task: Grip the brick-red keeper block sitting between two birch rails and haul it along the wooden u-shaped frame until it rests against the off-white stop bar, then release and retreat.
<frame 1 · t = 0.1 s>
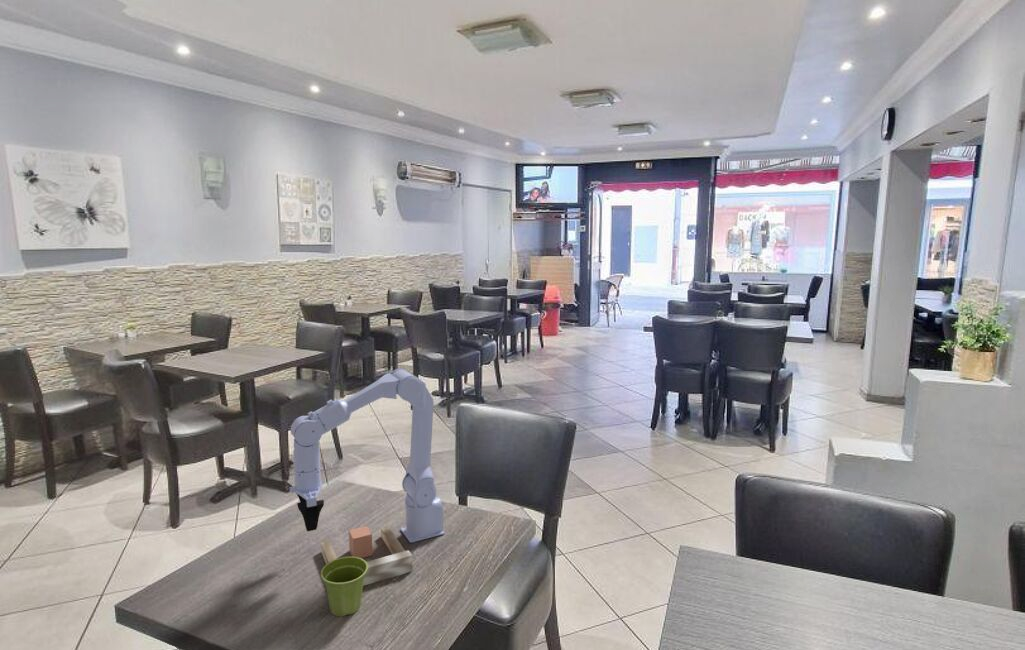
hand: (310, 522, 128), 10 cm above the table, tool pointing down, fingers open, 7 cm apart
keeper block: (360, 553, 133), on the table
plant pot: (345, 608, 113), on the table
wooden u-shaped frame: (364, 558, 131), on the table
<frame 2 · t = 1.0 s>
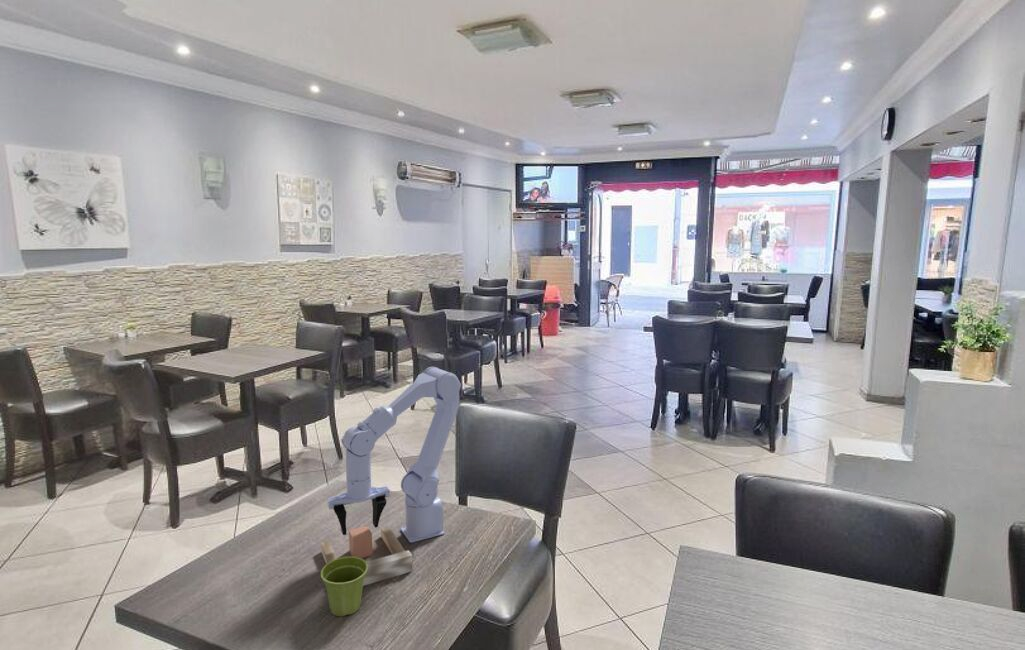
hand: (359, 529, 133), 6 cm above the table, tool pointing down, fingers open, 7 cm apart
nothing on the table moved.
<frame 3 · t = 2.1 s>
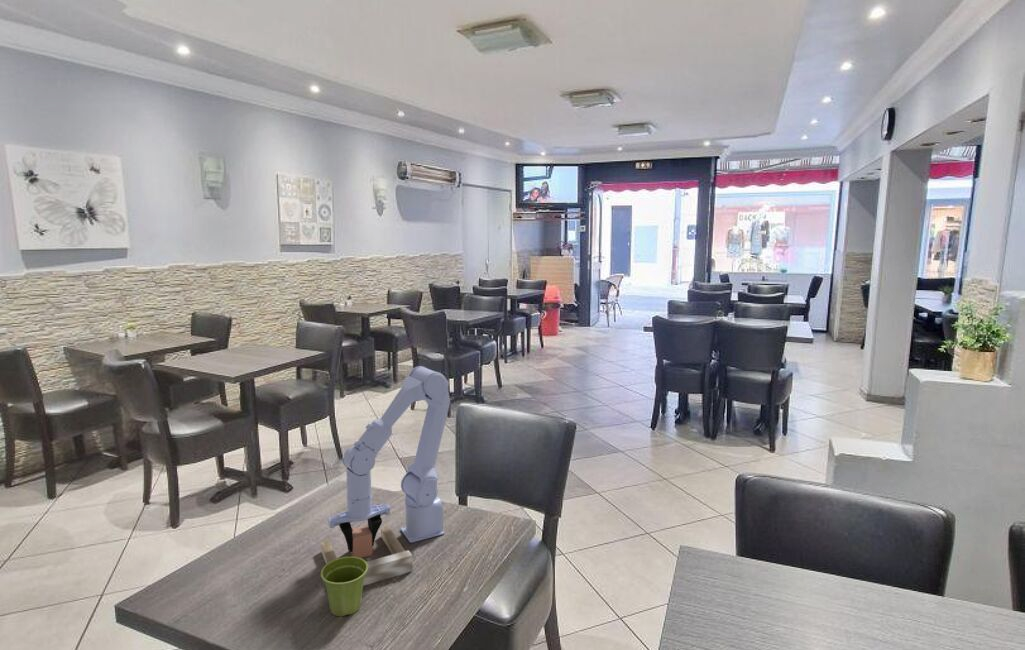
hand: (360, 547, 133), 1 cm above the table, tool pointing down, fingers closed on keeper block, 4 cm apart
keeper block: (360, 552, 133), on the table, touching gripper
everything else where it was.
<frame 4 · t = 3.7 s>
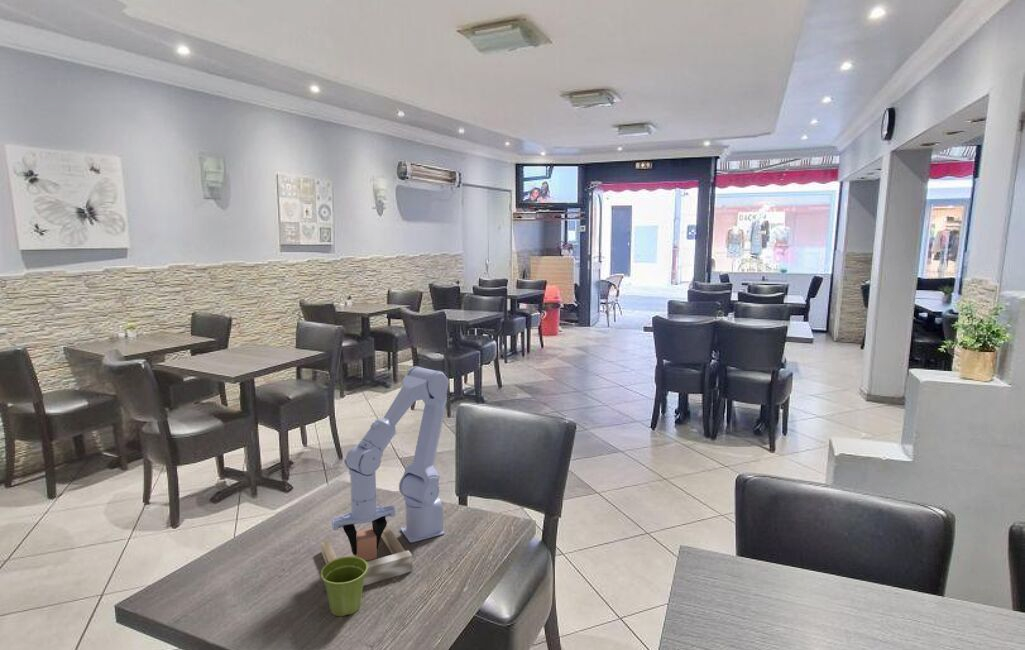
hand: (365, 550, 129), 3 cm above the table, tool pointing down, fingers closed on keeper block, 4 cm apart
keeper block: (365, 555, 130), point 1 cm above the table, touching gripper
everything else where it was.
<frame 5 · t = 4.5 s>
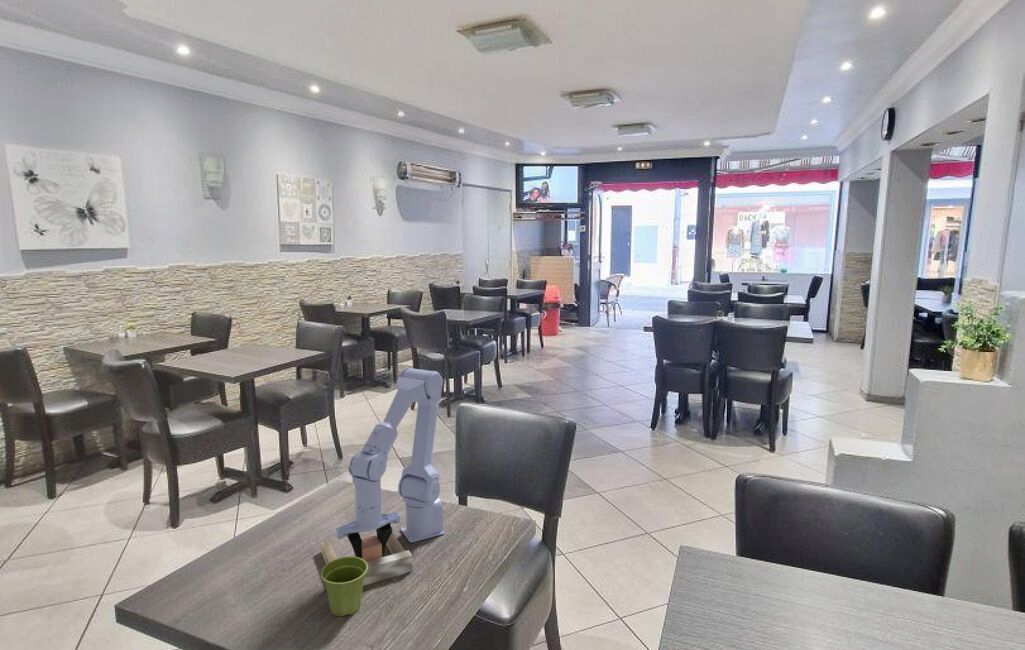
hand: (369, 558, 126), 3 cm above the table, tool pointing down, fingers closed on keeper block, 4 cm apart
keeper block: (369, 564, 126), point 1 cm above the table, touching gripper
everything else where it was.
when the fingers open (2 cm above the table, at t = 5.3 s): keeper block stays where it is, on the table.
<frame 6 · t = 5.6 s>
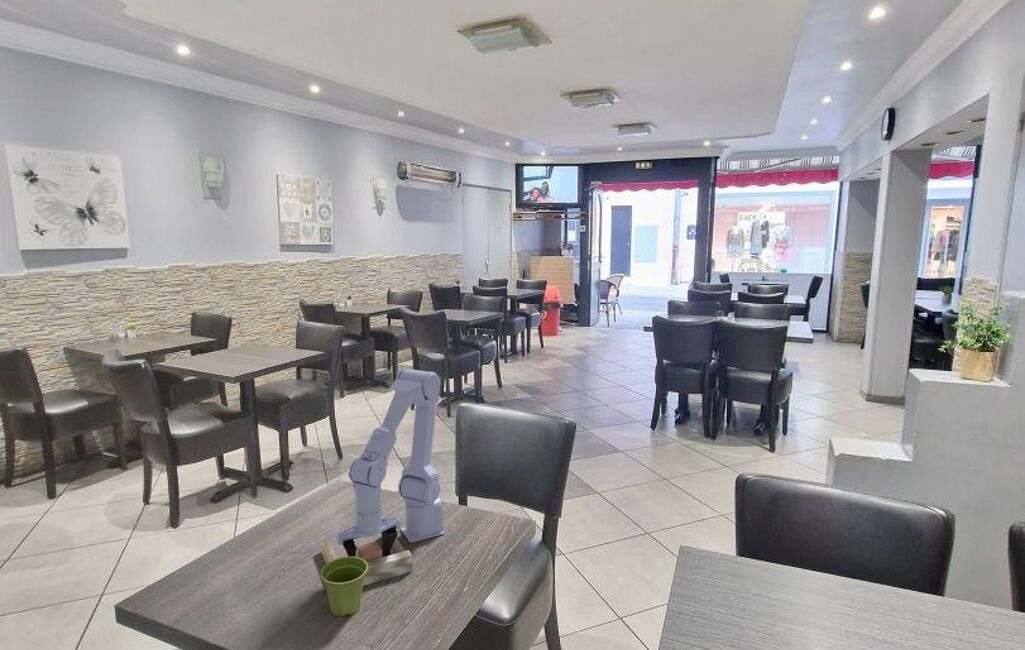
hand: (369, 563, 126), 2 cm above the table, tool pointing down, fingers open, 7 cm apart
keeper block: (369, 570, 126), on the table
everything else where it was.
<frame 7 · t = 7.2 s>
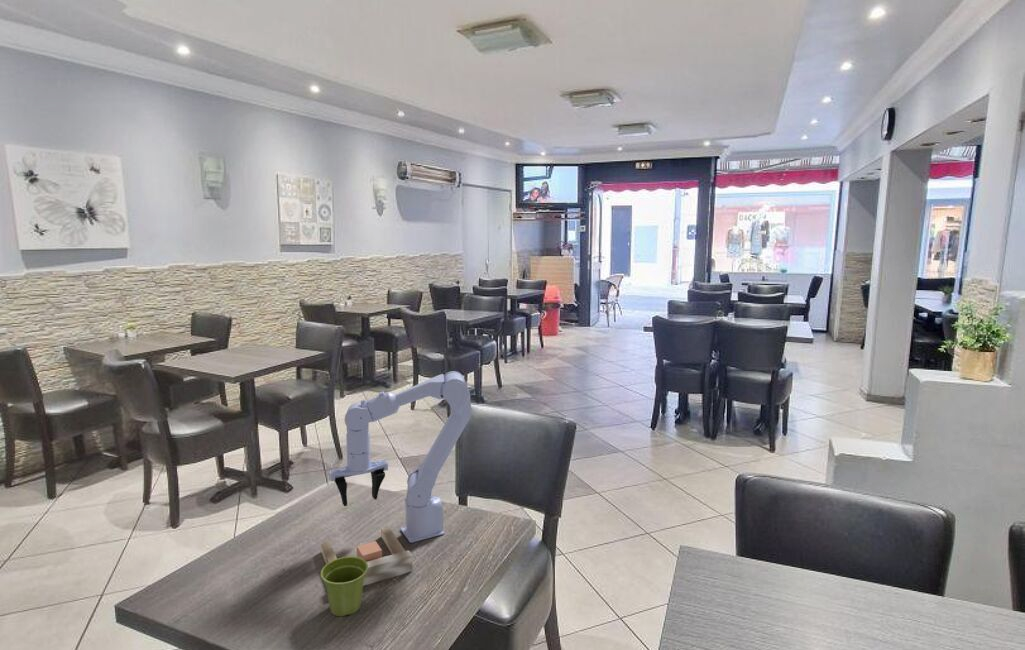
hand: (359, 501, 139), 10 cm above the table, tool pointing down, fingers open, 7 cm apart
nothing on the table moved.
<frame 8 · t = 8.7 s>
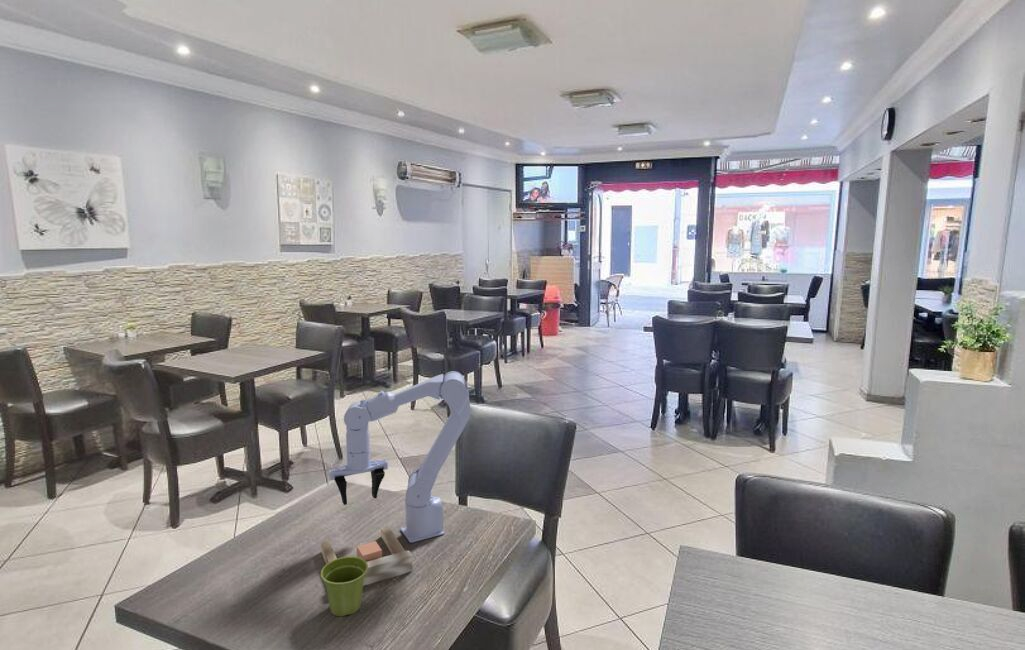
hand: (359, 499, 140), 10 cm above the table, tool pointing down, fingers open, 7 cm apart
nothing on the table moved.
at the end: keeper block 0.4 cm from the target spot, on the table; keeper block tilted 0°; the gripper is holding nothing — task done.
